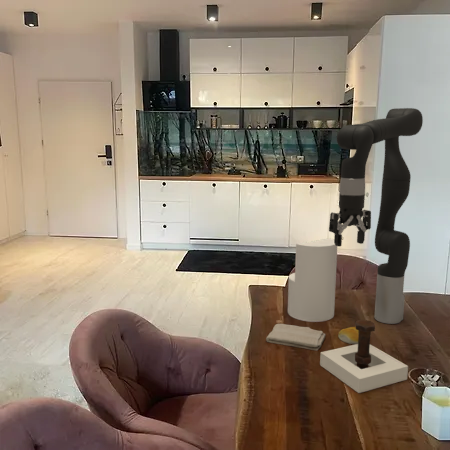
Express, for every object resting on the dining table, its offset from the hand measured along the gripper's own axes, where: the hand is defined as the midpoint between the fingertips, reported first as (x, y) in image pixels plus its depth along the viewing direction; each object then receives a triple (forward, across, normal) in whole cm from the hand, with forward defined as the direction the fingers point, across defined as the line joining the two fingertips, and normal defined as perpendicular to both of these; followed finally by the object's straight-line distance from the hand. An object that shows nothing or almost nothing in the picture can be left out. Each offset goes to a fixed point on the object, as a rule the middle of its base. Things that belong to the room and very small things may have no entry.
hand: (349, 244), depth 149 cm
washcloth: (+34, +12, -9) cm, 37 cm away
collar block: (+33, +7, +17) cm, 38 cm away
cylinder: (+33, -6, -27) cm, 43 cm away
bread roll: (+34, -5, -2) cm, 34 cm away
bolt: (+33, +7, +17) cm, 38 cm away
